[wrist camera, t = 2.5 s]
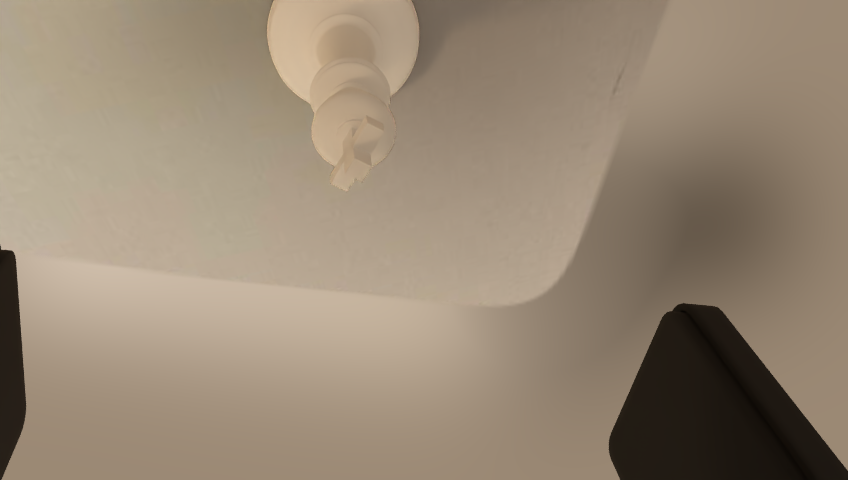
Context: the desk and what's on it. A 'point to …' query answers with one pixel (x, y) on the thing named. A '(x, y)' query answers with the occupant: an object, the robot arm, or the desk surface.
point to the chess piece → (346, 73)
